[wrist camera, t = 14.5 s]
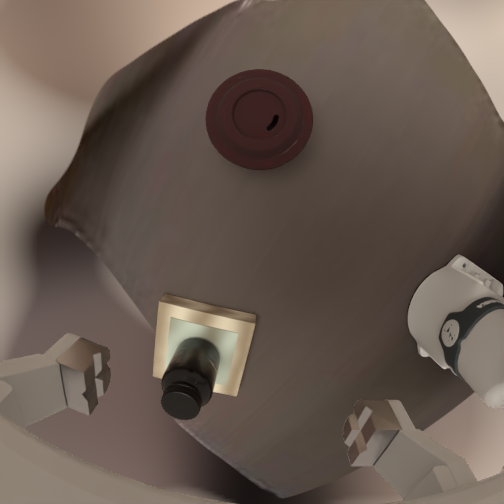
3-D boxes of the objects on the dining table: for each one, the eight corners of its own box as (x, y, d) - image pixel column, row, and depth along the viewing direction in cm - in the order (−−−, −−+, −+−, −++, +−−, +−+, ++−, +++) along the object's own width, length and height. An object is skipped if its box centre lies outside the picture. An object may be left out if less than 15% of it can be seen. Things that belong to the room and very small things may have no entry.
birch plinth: (256, 314, 45) (255, 324, 42) (237, 385, 48) (236, 397, 45) (165, 293, 45) (158, 301, 41) (158, 366, 48) (152, 376, 45)
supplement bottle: (229, 354, 43) (220, 408, 31) (203, 380, 44) (189, 433, 33) (192, 327, 42) (170, 376, 31) (167, 355, 44) (143, 405, 32)
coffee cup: (211, 121, 38) (184, 92, 24) (277, 91, 37) (284, 48, 23) (242, 184, 40) (232, 188, 26) (309, 154, 39) (335, 141, 25)
